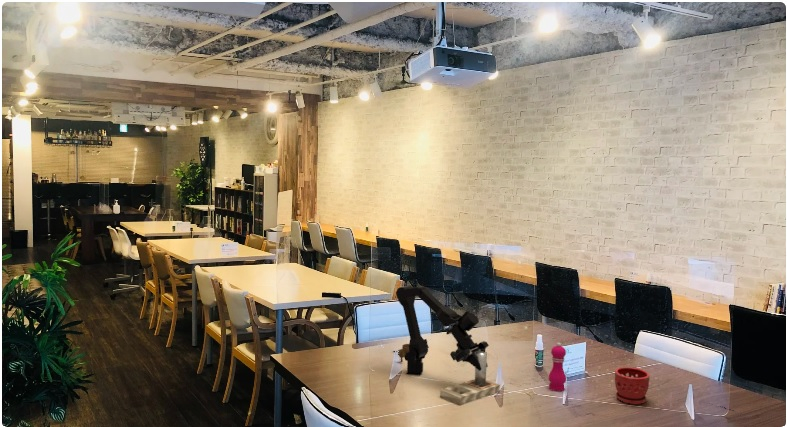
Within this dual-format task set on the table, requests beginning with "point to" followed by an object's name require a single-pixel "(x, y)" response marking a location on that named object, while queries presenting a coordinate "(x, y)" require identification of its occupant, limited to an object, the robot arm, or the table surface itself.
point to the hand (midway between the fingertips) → (483, 368)
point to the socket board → (469, 391)
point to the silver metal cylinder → (481, 375)
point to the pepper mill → (557, 368)
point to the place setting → (403, 351)
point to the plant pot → (631, 385)
